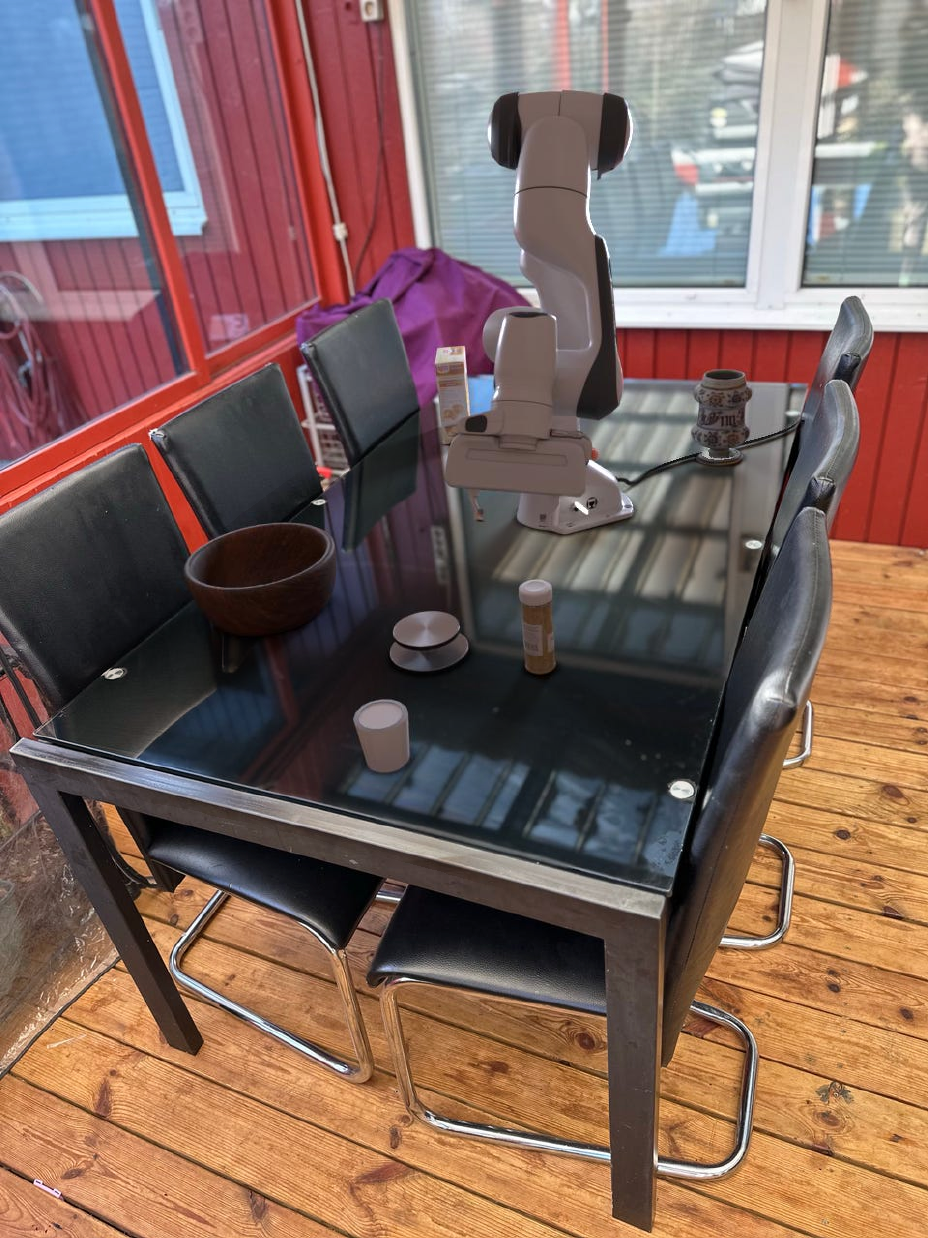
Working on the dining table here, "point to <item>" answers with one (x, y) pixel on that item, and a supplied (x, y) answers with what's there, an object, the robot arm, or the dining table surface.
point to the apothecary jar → (721, 415)
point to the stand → (428, 643)
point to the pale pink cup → (383, 734)
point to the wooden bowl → (263, 577)
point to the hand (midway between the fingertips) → (511, 524)
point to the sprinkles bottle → (537, 626)
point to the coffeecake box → (451, 389)
